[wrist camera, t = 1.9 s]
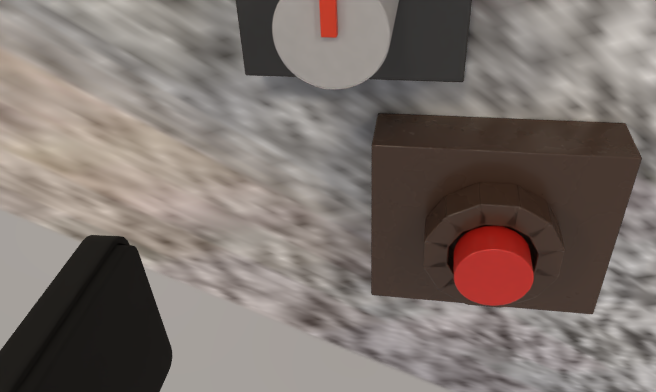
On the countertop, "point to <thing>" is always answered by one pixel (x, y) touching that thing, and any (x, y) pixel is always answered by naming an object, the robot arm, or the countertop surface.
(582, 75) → the countertop surface
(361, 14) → the dial
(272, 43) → the knob
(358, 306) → the countertop surface
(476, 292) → the power button
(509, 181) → the power button base
